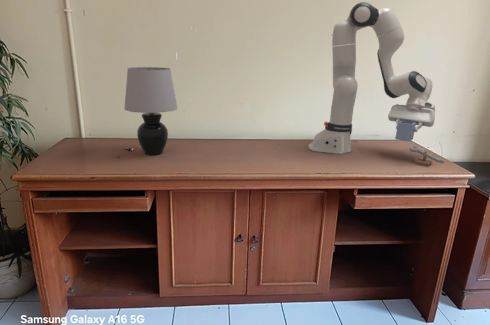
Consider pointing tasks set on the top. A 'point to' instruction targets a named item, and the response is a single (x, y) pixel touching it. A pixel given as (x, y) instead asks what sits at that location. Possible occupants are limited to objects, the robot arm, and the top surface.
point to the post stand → (423, 161)
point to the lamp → (150, 104)
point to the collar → (405, 131)
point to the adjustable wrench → (419, 150)
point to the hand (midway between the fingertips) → (406, 129)
